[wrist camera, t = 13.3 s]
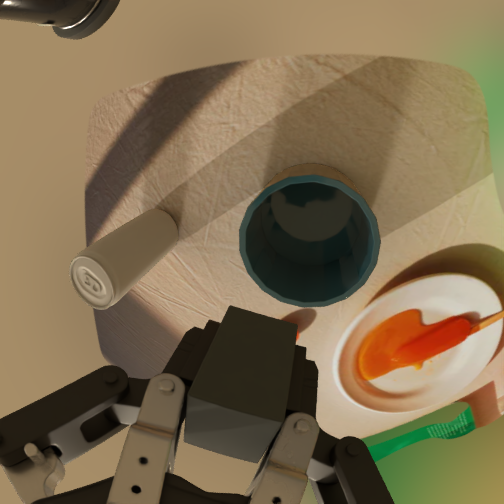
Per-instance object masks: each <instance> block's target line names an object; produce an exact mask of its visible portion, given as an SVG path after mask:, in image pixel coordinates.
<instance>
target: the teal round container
mask: <svg viewBox="0 0 504 504" xmlns="http://www.w3.org/2000/svg"><path fill="white" fill-rule="evenodd" d="M380 244H381V240H380V234H379V229H378V224H377V219H376V217H375V215H374V213H373V212H372V210H371V209H370V207H369V206H368V204H367V203H366V201H365V199H364V198H363V196H362V195H361V193H360V192H359V191H358V189H357V188H356V186H355V185H354V183H353V182H352V181H351V180H350V179H349V178H348V177H346V176H345V175H344V174H343V173H341V172H339V171H338V170H336V169H334V168H332V167H329V166H326V165H322V164H315V163H306V164H299V165H295V166H292V167H289V168H287V169H285V170H283V171H282V172H280V173H278V174H277V175H275V176H274V177H273V178H272V180H271V181H270V182H269V183H268V184H267V185H266V186H265V187H264V188H263V189H262V191H261V192H260V193H259V194H258V195H257V196H256V198H255V199H254V200H253V201H252V202H251V204H250V205H249V206H248V208H247V210H246V213H245V215H244V218H243V221H242V223H241V226H240V229H239V251H240V254H241V257H242V260H243V262H244V265H245V268H246V270H247V273H248V274H249V275H250V277H251V278H252V279H253V280H254V281H255V282H256V284H257V285H258V286H259V287H260V288H261V290H263V291H264V292H266V293H267V294H269V295H271V296H272V297H274V298H276V299H277V300H279V301H280V302H283V303H287V304H291V305H295V306H299V307H304V308H305V307H325V306H328V305H331V304H334V303H336V302H339V301H342V300H344V299H347V298H348V297H349V296H351V295H352V294H353V293H354V292H356V291H357V290H358V289H359V288H361V287H362V286H363V285H364V284H365V283H366V281H367V280H368V278H369V276H370V275H371V273H372V271H373V270H374V268H375V266H376V264H377V260H378V255H379V249H380Z"/></svg>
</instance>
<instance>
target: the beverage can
mask: <svg viewBox="0 0 504 504" xmlns="http://www.w3.org/2000/svg"><path fill="white" fill-rule="evenodd" d="M177 241H178V229H177V226H176V224H175V222H174V220H173V219H172V217H171V216H170V215H169V214H168V213H166V212H164V211H163V210H159V209H151V210H149V211H146V212H145V213H143V214H141V215H139V216H138V217H136V218H134V219H133V220H131V221H129V222H127V223H126V224H124V225H122V226H121V227H119V228H117V229H116V230H114V231H113V232H111V233H109V234H108V235H106V236H104V237H103V238H101V239H100V240H98V241H97V242H95V243H93V244H92V245H90V246H89V247H87V248H86V249H84V250H83V251H81V252H80V253H79V254H78V255H77V256H76V257H75V258H74V259H73V260H72V262H71V264H70V268H69V275H70V280H71V283H72V285H73V287H74V289H75V291H76V293H77V294H78V295H79V297H80V298H81V299H82V300H83V301H84V302H85V303H87V304H88V305H89V306H91V307H93V308H95V309H101V310H103V309H107V308H109V307H110V306H112V305H114V304H115V303H117V302H118V301H119V300H120V299H121V298H122V297H123V296H124V295H125V294H126V293H127V292H128V291H129V290H130V289H131V288H132V287H133V286H134V285H135V284H136V283H137V282H138V281H139V280H140V279H141V278H142V277H143V276H144V275H145V274H147V273H148V272H149V271H150V270H151V269H152V268H153V267H154V266H155V265H156V264H157V263H158V262H159V261H160V260H161V259H162V258H163V257H165V256H166V255H167V254H168V253H169V252H170V251H171V250H172V249H173V248H174V247H175V246H176V244H177Z"/></svg>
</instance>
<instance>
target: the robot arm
mask: <svg viewBox="0 0 504 504" xmlns="http://www.w3.org/2000/svg"><path fill="white" fill-rule="evenodd" d="M101 1H102V0H0V19H7V20H16V21H24V22H32V23H39V24H40V26H56V27H59V28H62V29H73V28H75V27H77V26H79V25H81V24H82V23H84V22H85V21H86V20H87V19H88V18H89V17H90V16H91V15H92V14H93V13H94V12H95V10H96V9H97V8H98V6H99V5H100V3H101ZM220 324H221V323H219V322H216V321H213V320H209V321H208V322H207V324H206V326H205V328H204V329H201V328H198V327H193V328H192V329H190V330H189V331H187V332H186V333H185V335H184V337H183V338H182V340H181V342H180V343H179V345H178V347H177V348H176V350H175V352H174V353H173V355H172V357H171V358H170V360H169V362H168V363H167V365H166V367H165V369H164V370H163V372H162V373H161V374H158V375H155V376H154V377H153V378H152V379H137V378H130V377H128V375H127V374H126V372H125V371H124V370H123V369H121V368H120V367H117V366H113V365H109V366H103V367H101V368H100V369H98V370H95V371H94V372H92V373H90V374H88V375H86V376H84V377H82V378H80V379H78V380H77V381H75V382H73V383H71V384H69V385H67V386H65V387H63V388H61V389H59V390H57V391H55V392H53V393H51V394H49V395H47V396H45V397H43V398H42V399H40V400H37V401H35V402H34V403H32V404H29V405H27V406H25V407H23V408H21V409H20V410H17V411H15V412H13V413H11V414H9V415H7V416H5V417H3V418H1V419H0V465H1V466H2V468H3V469H4V471H5V473H6V475H7V477H8V479H9V480H10V482H11V484H12V485H13V487H14V489H15V490H16V492H17V494H18V495H19V497H20V499H21V500H22V502H23V503H24V504H300V502H301V499H302V497H303V494H304V491H305V488H306V485H307V482H308V478H309V480H310V483H311V486H312V489H313V491H314V494H315V497H316V499H317V502H318V504H394V502H393V499H392V497H391V495H390V493H389V491H388V490H387V487H386V485H385V483H384V481H383V479H382V477H381V475H380V473H379V471H378V468H377V466H376V464H375V462H374V460H373V458H372V456H371V454H370V452H369V450H368V448H367V446H366V445H365V443H364V442H363V441H362V440H360V439H359V438H356V437H352V436H347V437H344V438H342V439H338V438H335V437H333V436H331V435H329V434H327V433H326V432H324V431H323V430H322V429H321V428H320V427H319V425H318V422H317V421H316V404H317V387H318V382H317V381H318V369H317V366H316V364H315V362H314V361H311V360H307V359H306V347H302V346H298V345H295V352H294V359H293V366H292V373H291V380H290V387H289V394H288V400H287V407H286V413H285V419H284V422H283V424H282V426H281V427H280V429H279V431H278V432H277V434H276V435H275V437H274V439H273V440H272V442H271V443H270V445H269V447H268V448H267V450H266V452H265V454H264V456H263V459H262V461H261V463H260V465H259V467H258V469H257V471H256V474H255V476H254V478H253V480H252V482H251V484H250V485H249V487H248V489H247V490H246V492H245V494H244V495H240V494H231V493H213V492H206V491H204V490H202V489H200V488H198V487H196V486H195V485H193V484H191V483H190V482H188V481H187V480H185V479H183V478H182V477H180V476H177V475H174V474H173V471H174V463H175V457H176V452H177V447H178V442H179V437H180V433H181V428H182V423H183V421H184V419H185V417H186V406H187V396H188V392H189V390H190V388H191V386H192V383H193V381H194V379H195V377H196V375H197V373H198V371H199V369H200V367H201V364H202V362H203V360H204V358H205V356H206V354H207V352H208V350H209V348H210V345H211V343H212V341H213V339H214V337H215V335H216V333H217V331H218V329H219V326H220ZM129 425H131V427H130V429H129V431H128V434H127V437H126V440H125V444H124V447H123V450H122V453H121V456H120V460H119V463H118V466H117V469H116V473H115V476H112V477H110V478H107V479H104V480H101V481H99V482H96V483H93V484H90V485H87V486H84V487H81V488H77V489H74V490H71V491H68V492H64V493H61V494H57V495H54V490H55V487H56V485H57V484H58V483H59V482H61V481H62V480H63V478H64V475H65V468H64V465H65V464H67V463H69V462H71V461H72V460H74V459H76V458H77V457H79V456H81V455H83V454H84V453H85V452H88V451H89V450H91V449H92V448H94V447H96V446H97V445H99V444H101V443H102V442H104V441H105V440H107V439H108V438H110V437H112V436H113V435H115V434H116V433H118V432H120V431H121V430H123V429H124V428H126V427H127V426H129Z"/></svg>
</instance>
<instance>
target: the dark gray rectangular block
mask: <svg viewBox="0 0 504 504" xmlns="http://www.w3.org/2000/svg"><path fill="white" fill-rule="evenodd" d="M297 328H298V325H297V324H294V323H290V322H286V321H283V320H279V319H275V318H272V317H268V316H265V315H261V314H258V313H254V312H251V311H248V310H244V309H241V308H238V307H234V306H229V307H228V310H227V312H226V314H225V316H224V318H223V320H222V322H221V324H220V326H219V329H218V331H217V333H216V335H215V337H214V339H213V341H212V343H211V345H210V348H209V350H208V352H207V354H206V356H205V358H204V360H203V362H202V364H201V367H200V369H199V371H198V373H197V375H196V377H195V379H194V381H193V383H192V386H191V388H190V390H189V392H188V396H187V406H186V417H185V429H184V442H186V443H188V444H191V445H194V446H197V447H200V448H203V449H206V450H209V451H213V452H216V453H219V454H222V455H226V456H229V457H233V458H237V459H241V460H244V461H249V462H253V463H258V462H259V460H260V459H261V457H262V456H263V454H264V453H265V451H266V450H267V448H268V447H269V445H270V443H271V442H272V440H273V439H274V437H275V435H276V434H277V432H278V431H279V429H280V427H281V426H282V424H283V422H284V419H285V413H286V407H287V400H288V394H289V387H290V380H291V373H292V366H293V359H294V352H295V344H296V336H297Z"/></svg>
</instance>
